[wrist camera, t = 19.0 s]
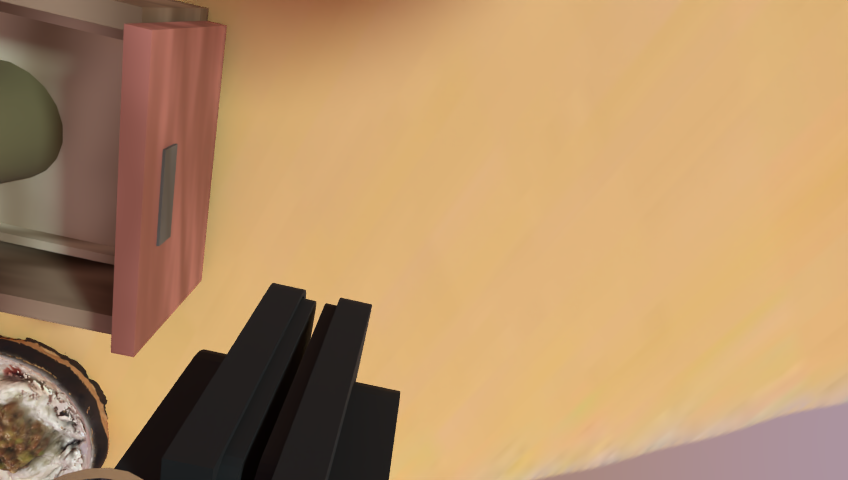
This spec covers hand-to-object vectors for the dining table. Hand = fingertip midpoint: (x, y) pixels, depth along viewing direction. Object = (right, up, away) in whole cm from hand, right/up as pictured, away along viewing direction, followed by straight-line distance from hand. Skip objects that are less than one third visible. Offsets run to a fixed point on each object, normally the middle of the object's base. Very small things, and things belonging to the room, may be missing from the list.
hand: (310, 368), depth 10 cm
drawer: (-17, +8, +21) cm, 28 cm away
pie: (-25, -9, +29) cm, 39 cm away
